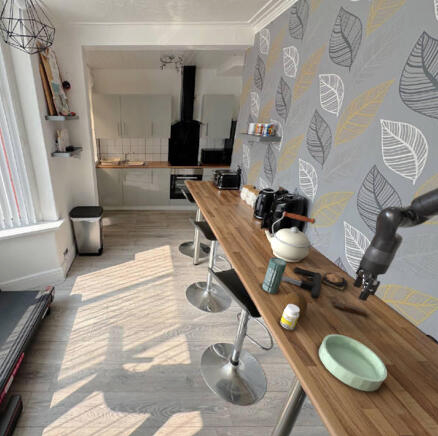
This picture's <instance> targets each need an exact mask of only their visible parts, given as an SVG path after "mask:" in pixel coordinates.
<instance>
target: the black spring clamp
mask: <svg viewBox="0 0 438 436" xmlns="http://www.w3.org/2000/svg"><path fill="white" fill-rule="evenodd" d="M293 272H294V273H295V274H299V275H302V279H301V280H299V279H296V278H292V277H289V276H286V275H283V277H282V280H281V281H284V282H286V283H290V284H292V285H295V286H299V288H300V289H302V290H306V291H309V292H310V296H311V298H312V299H314V300H318V299H319V297H321V298H322V296H321V295H320V294H321V293H320V292H321V284H322V278H323V279H324V277H322V274H321V273H320V272H318V271H317V272H314V271H311V270H308V269H304V268H300V267H297V266H296V267H294V269H293ZM304 276H306V277H305V278H306V279H311V280H312V282H311V281H308V280H305V279H304Z"/></svg>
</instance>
